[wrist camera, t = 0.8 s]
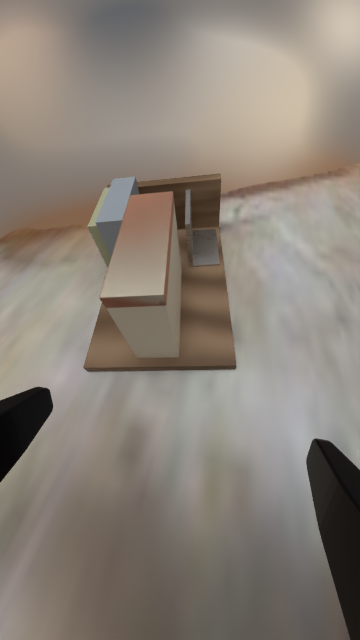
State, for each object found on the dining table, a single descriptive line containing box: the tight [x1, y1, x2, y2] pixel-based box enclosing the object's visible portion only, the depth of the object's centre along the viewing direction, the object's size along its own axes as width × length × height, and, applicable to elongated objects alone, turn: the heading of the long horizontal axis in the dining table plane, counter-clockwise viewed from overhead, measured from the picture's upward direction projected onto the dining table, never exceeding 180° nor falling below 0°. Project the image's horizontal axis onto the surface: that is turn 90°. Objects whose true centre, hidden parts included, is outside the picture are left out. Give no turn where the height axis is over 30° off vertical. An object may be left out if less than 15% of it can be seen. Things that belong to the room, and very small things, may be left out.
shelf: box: [83, 174, 236, 371], centre depth 27 cm, size 25×16×8 cm, turn 178°
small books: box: [88, 177, 139, 267], centre depth 30 cm, size 10×5×8 cm, turn 178°
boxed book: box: [99, 191, 182, 358], centre depth 23 cm, size 14×4×10 cm, turn 178°
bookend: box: [185, 189, 220, 267], centre depth 30 cm, size 8×4×6 cm, turn 178°
